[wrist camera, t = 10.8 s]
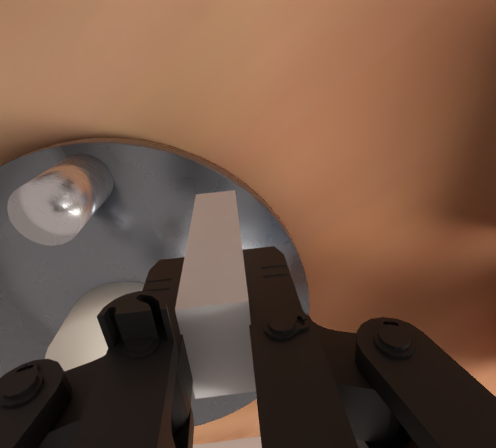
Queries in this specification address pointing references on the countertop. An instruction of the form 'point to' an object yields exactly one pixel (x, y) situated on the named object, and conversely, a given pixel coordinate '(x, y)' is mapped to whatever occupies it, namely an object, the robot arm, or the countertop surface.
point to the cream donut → (86, 327)
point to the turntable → (109, 234)
